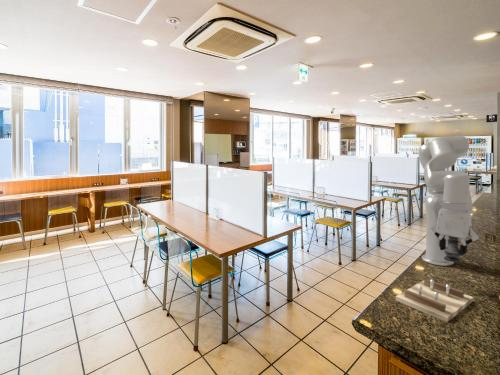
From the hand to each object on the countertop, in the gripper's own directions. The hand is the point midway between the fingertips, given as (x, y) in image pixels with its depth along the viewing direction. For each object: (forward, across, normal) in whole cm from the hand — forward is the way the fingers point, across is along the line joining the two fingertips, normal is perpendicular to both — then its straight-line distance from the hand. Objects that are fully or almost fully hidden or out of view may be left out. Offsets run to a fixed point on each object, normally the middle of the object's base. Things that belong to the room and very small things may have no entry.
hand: (452, 251), depth 104 cm
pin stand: (+13, +2, -18) cm, 22 cm away
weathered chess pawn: (+3, 0, 0) cm, 3 cm away
